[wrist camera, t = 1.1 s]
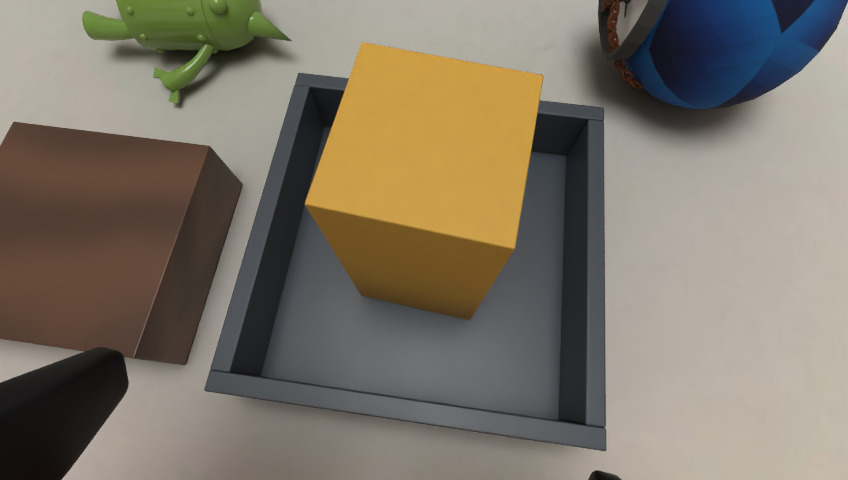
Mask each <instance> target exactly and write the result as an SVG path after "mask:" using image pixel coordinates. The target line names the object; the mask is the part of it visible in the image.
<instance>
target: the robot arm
mask: <svg viewBox="0 0 848 480" xmlns="http://www.w3.org/2000/svg"><path fill="white" fill-rule="evenodd" d="M128 384H129V382H128V376H127V371H126V365H125V360H124V356H123V354H122V353H121V352H120V351H117V350H113V349H109V348H105V347H97V348H94V349H91V350H88V351H85V352H83V353H80V354H77V355H74V356H72V357H69V358H66V359H64V360H61V361H58V362H55V363H53V364H50V365H47V366H44V367H42V368H39V369H36V370H34V371H31V372H28V373H25V374H23V375H20V376H17V377H15V378H12V379H9V380H6V381H4V382H1V383H0V480H61V479H62V478H63V477H64V476H65V475H66V473H67V472H68V471H69V470H70V468H71V467H72V466H73V465H74V463H75V462H76V461H77V459H78V458H79V457H80V455H81V454H82V453H83V451H84V450H85V449H86V447H87V446H88V444H89V443H90V442H91V440H92V439H93V438H94V436H95V435H96V434H97V432H98V431H99V429H100V428H101V427H102V425H103V424H104V423H105V421H106V420H107V419H108V417H109V416H110V414H111V413H112V412H113V410H114V409H115V408H116V406H117V405H118V404H119V402H120V401H121V399H122V398H123V397H124V395H125V393H126V391H127V388H128ZM588 480H621V479H620V478H619V477H618V476H616V475H614V474H610V473H606V472H602V471H594V472H592V474H591V475H590V477H589V479H588Z"/></svg>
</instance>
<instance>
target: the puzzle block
mask: <svg viewBox="0 0 848 480" xmlns="http://www.w3.org/2000/svg"><path fill="white" fill-rule="evenodd" d="M542 82H543V75H539V74H534V73H528V72H523V71H517V70H512V69H506V68H501V67H495V66H490V65H484V64H479V63H473V62H468V61H462V60H457V59H451V58H446V57H440V56H435V55H429V54H424V53H418V52H413V51H407V50H402V49H397V48H391V47H386V46H380V45H375V44H369V43H364V42H363V43H362V44H361V46H360V49H359V52H358V55H357V58H356V61H355V63H354V66H353V69H352V72H351V75H350V77H349V80H348V83H347V86H346V89H345V91H344V94H343V97H342V100H341V103H340V106H339V108H338V111H337V114H336V117H335V120H334V122H333V125H332V128H331V131H330V134H329V136H328V139H327V142H326V145H325V148H324V151H323V153H322V156H321V159H320V162H319V165H318V167H317V170H316V173H315V176H314V179H313V181H312V184H311V187H310V190H309V193H308V195H307V198H306V201H305V205H306V207H307V209H308V210H309V212H310V214H311V215H312V217H313V218H314V220H315V222H316V223H317V225H318V226H319V228H320V230H321V231H322V233H323V235H324V236H325V238H326V239H327V241H328V243H329V244H330V246H331V247H332V249H333V251H334V252H335V254H336V256H337V257H338V259H339V260H340V262H341V264H342V265H343V267H344V268H345V270H346V272H347V273H348V275H349V276H350V278H351V280H352V281H353V283H354V285H355V286H356V288H357V289H358V291H359V293H360V294H361V296H365V297H369V298H374V299H378V300H382V301H387V302H391V303H396V304H400V305H404V306H409V307H413V308H418V309H422V310H426V311H431V312H435V313H440V314H444V315H448V316H453V317H457V318H461V319H466V320H470V319H471V318H472V316H473V315H474V313H475V311H476V310H477V308H478V307H479V305H480V303H481V302H482V300H483V299H484V297H485V295H486V294H487V292H488V291H489V289H490V288H491V286H492V284H493V283H494V281H495V280H496V278H497V276H498V275H499V273H500V272H501V270H502V268H503V267H504V265H505V264H506V262H507V260H508V259H509V257H510V256H511V254H512V252H513V251H514V249H515V246H516V240H517V234H518V228H519V222H520V216H521V210H522V204H523V198H524V192H525V185H526V179H527V173H528V167H529V161H530V155H531V149H532V143H533V137H534V131H535V125H536V119H537V113H538V106H539V100H540V94H541V88H542Z"/></svg>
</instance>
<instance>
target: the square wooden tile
mask: <svg viewBox="0 0 848 480" xmlns="http://www.w3.org/2000/svg"><path fill="white" fill-rule="evenodd" d="M241 187H242V183H241V182H240V181H239V180H238V178H237V177H236V176H235V175H234V174H233V173H232V171H231V170H230V169H229V168H228V167H227V166H226V164H225V163H224V162H223V161H222V160H221V159H220V157H219V156H218V155H217V154H216V153H215V152H214V150H213V149H212V148H211V147H210V146H205V145H197V144H189V143H181V142H173V141H165V140H157V139H149V138H141V137H133V136H125V135H116V134H108V133H100V132H92V131H84V130H76V129H68V128H60V127H52V126H44V125H35V124H27V123H19V122H13V124H12V126H11V127H10V129H9V131H8V133H7V135H6V136H5V138H4V140H3V142H2V144H1V145H0V339H5V340H12V341H19V342H26V343H32V344H39V345H46V346H53V347H59V348H66V349H73V350H80V351H88V350H91V349H94V348H97V347H105V348H109V349H113V350H117V351H120V352H121V353H122V354H123V356H124V357H127V358H134V359H142V360H150V361H158V362H165V363H173V364H181V365H185V364H186V361H187V358H188V355H189V352H190V348H191V345H192V342H193V339H194V336H195V333H196V329H197V326H198V323H199V320H200V317H201V314H202V310H203V307H204V304H205V301H206V298H207V295H208V291H209V288H210V285H211V282H212V279H213V276H214V273H215V269H216V266H217V263H218V260H219V257H220V254H221V250H222V247H223V244H224V241H225V238H226V235H227V231H228V228H229V225H230V222H231V219H232V216H233V212H234V209H235V206H236V203H237V200H238V197H239V193H240V190H241Z"/></svg>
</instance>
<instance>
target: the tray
mask: <svg viewBox="0 0 848 480" xmlns="http://www.w3.org/2000/svg"><path fill="white" fill-rule="evenodd" d="M348 80H349V79H348V78H340V77H331V76H322V75H313V74H305V73H298V76H297V79H296V83H295V85H294V89H293V92H292V95H291V99H290V102H289V105H288V109H287V112H286V116H285V119H284V122H283V126H282V129H281V132H280V136H279V139H278V143H277V146H276V149H275V153H274V156H273V159H272V163H271V166H270V170H269V173H268V176H267V180H266V183H265V186H264V190H263V193H262V197H261V200H260V203H259V207H258V210H257V213H256V217H255V220H254V224H253V227H252V230H251V234H250V237H249V241H248V244H247V247H246V251H245V254H244V257H243V261H242V264H241V268H240V271H239V274H238V278H237V281H236V284H235V288H234V291H233V295H232V298H231V301H230V305H229V308H228V311H227V315H226V318H225V322H224V325H223V328H222V332H221V335H220V338H219V342H218V345H217V349H216V352H215V355H214V359H213V362H212V365H211V370H210V373H209V376H208V379H207V383H206V386H205V391H208V392H214V393H221V394H228V395H234V396H241V397H248V398H254V399H261V400H268V401H274V402H281V403H288V404H294V405H301V406H308V407H314V408H321V409H328V410H334V411H341V412H348V413H354V414H361V415H368V416H374V417H381V418H388V419H394V420H401V421H408V422H414V423H421V424H428V425H434V426H441V427H448V428H454V429H461V430H468V431H474V432H481V433H488V434H494V435H501V436H508V437H514V438H521V439H528V440H534V441H541V442H548V443H554V444H561V445H568V446H574V447H581V448H588V449H594V450H601V451H606V429H605V428H604V427H605V426H606V395H605V235H604V122H603V121H604V108H602V107H593V106H584V105H575V104H567V103H558V102H549V101H540V100H539V106H538V113H537V119H536V125H535V131H534V137H533V143H532V149H531V155H530V161H529V167H528V173H527V179H526V185H525V192H524V198H523V204H522V210H521V216H520V222H519V228H518V234H517V240H516V246H515V249H514V251H513V252H512V254H511V256H510V257H509V259H508V260H507V262H506V264H505V265H504V267H503V268H502V270H501V272H500V273H499V275H498V276H497V278H496V280H495V281H494V283H493V284H492V286H491V288H490V289H489V291H488V292H487V294H486V295H485V297H484V299H483V300H482V302H481V303H480V305H479V307H478V308H477V310H476V311H475V313H474V315H473V316H472V318H471V319H470V320H466V319H461V318H457V317H453V316H448V315H444V314H440V313H435V312H431V311H426V310H422V309H418V308H413V307H409V306H404V305H400V304H396V303H391V302H387V301H382V300H378V299H374V298H369V297H365V296H361V294H360V293H359V291H358V289H357V288H356V286H355V285H354V283H353V281H352V280H351V278H350V276H349V275H348V273H347V272H346V270H345V268H344V267H343V265H342V264H341V262H340V260H339V259H338V257H337V256H336V254H335V252H334V251H333V249H332V247H331V246H330V244H329V243H328V241H327V239H326V238H325V236H324V235H323V233H322V231H321V230H320V228H319V226H318V225H317V223H316V222H315V220H314V218H313V217H312V215H311V214H310V212H309V210H308V209H307V207H306V205H305V201H306V198H307V195H308V193H309V190H310V187H311V184H312V181H313V179H314V176H315V173H316V170H317V167H318V165H319V162H320V159H321V156H322V153H323V151H324V148H325V145H326V142H327V139H328V136H329V134H330V131H331V128H332V125H333V122H334V120H335V117H336V114H337V111H338V108H339V106H340V103H341V100H342V97H343V94H344V91H345V89H346V86H347V83H348Z"/></svg>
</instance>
